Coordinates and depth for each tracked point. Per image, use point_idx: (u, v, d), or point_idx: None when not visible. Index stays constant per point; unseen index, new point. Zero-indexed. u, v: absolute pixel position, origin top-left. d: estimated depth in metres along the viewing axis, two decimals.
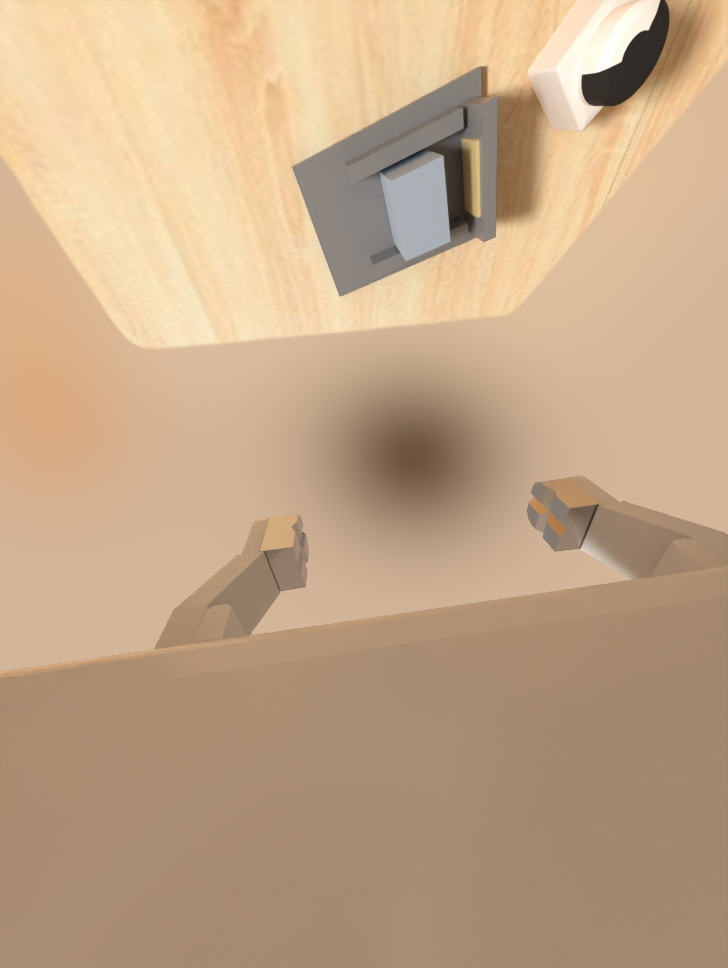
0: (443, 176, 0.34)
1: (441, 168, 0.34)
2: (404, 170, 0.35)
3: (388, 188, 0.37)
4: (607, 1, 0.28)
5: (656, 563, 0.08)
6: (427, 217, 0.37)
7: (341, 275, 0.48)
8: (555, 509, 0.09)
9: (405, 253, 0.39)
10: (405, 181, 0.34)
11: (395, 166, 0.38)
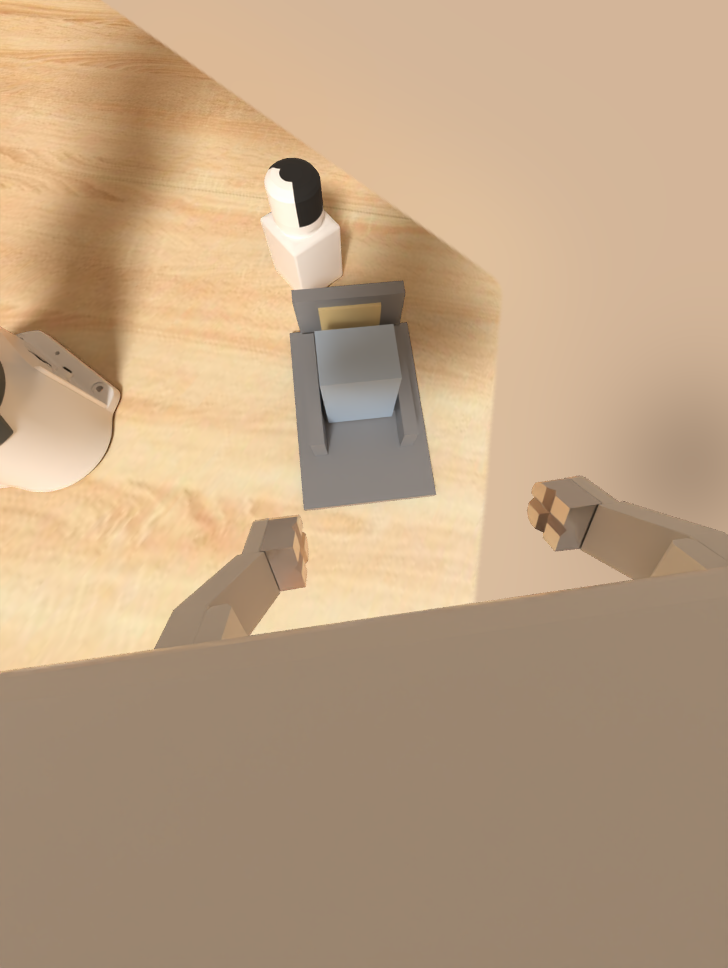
0: (330, 331, 0.30)
1: (323, 333, 0.30)
2: None
3: (332, 400, 0.32)
4: (270, 228, 0.36)
5: (656, 564, 0.08)
6: (362, 349, 0.30)
7: (411, 485, 0.37)
8: (555, 509, 0.09)
9: (393, 377, 0.29)
10: (324, 370, 0.29)
11: None
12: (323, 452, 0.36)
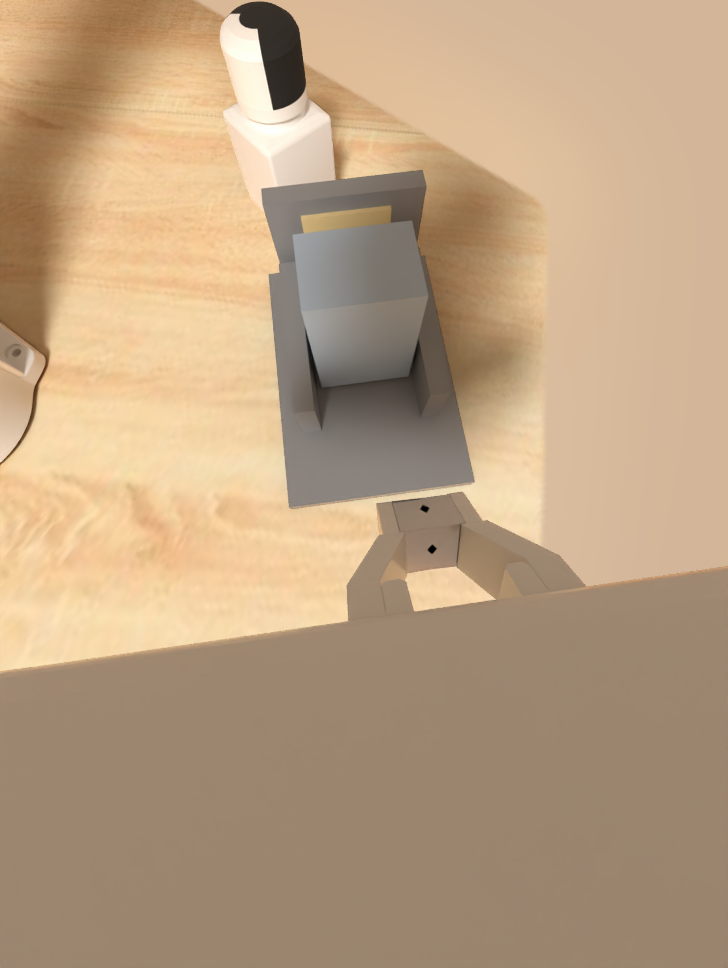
0: (317, 233, 0.20)
1: (306, 236, 0.20)
2: None
3: (324, 343, 0.22)
4: (235, 123, 0.26)
5: None
6: (365, 256, 0.19)
7: (440, 470, 0.26)
8: None
9: (414, 295, 0.19)
10: (307, 289, 0.19)
11: None
12: (314, 426, 0.26)
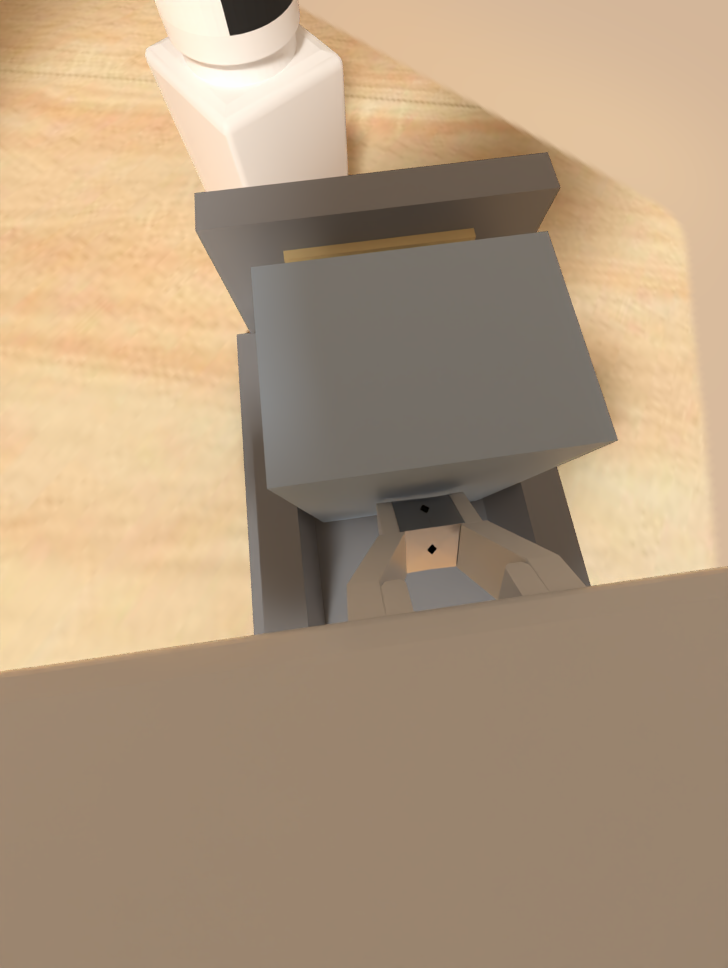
0: (313, 264, 0.08)
1: (286, 272, 0.08)
2: None
3: (329, 503, 0.10)
4: (166, 70, 0.14)
5: None
6: (438, 326, 0.07)
7: None
8: None
9: (580, 439, 0.07)
10: (286, 419, 0.07)
11: None
12: None
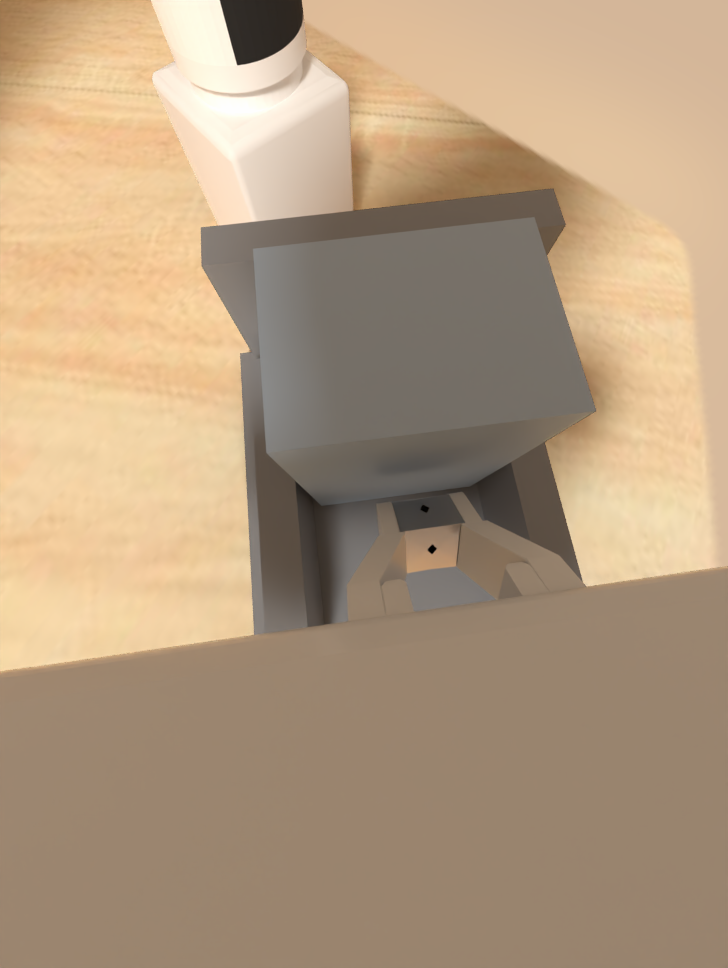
0: (312, 246, 0.08)
1: (287, 254, 0.08)
2: None
3: (326, 478, 0.10)
4: (173, 95, 0.14)
5: None
6: (429, 305, 0.08)
7: None
8: None
9: (560, 410, 0.07)
10: (285, 389, 0.07)
11: None
12: None
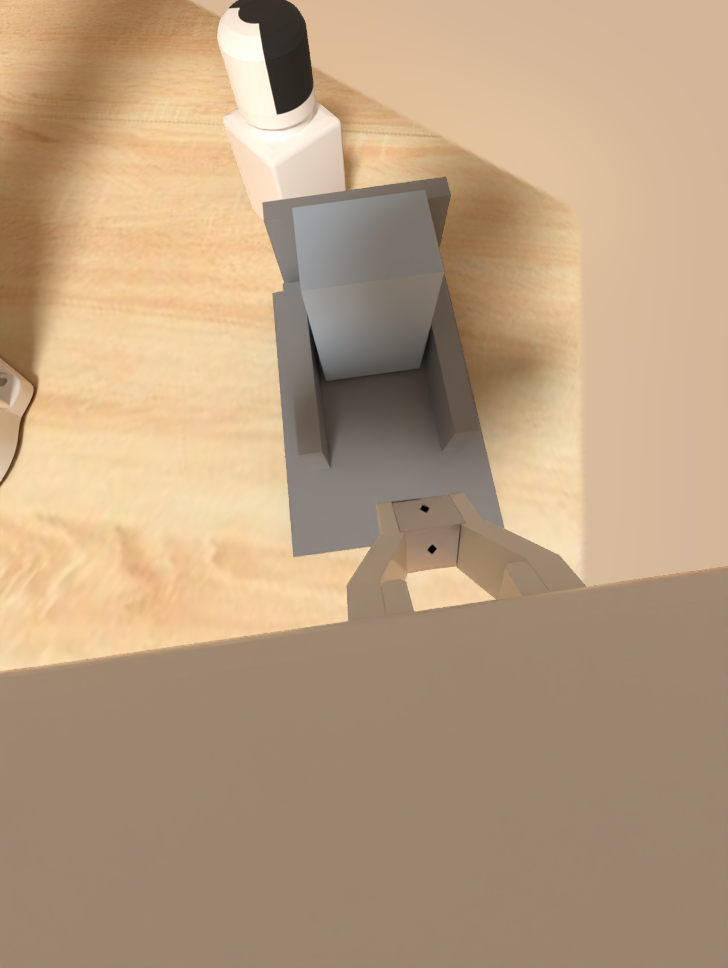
0: (319, 206, 0.18)
1: (308, 209, 0.18)
2: None
3: (327, 329, 0.20)
4: (236, 130, 0.24)
5: None
6: (373, 230, 0.17)
7: None
8: None
9: (428, 271, 0.17)
10: (308, 266, 0.17)
11: None
12: (322, 465, 0.23)
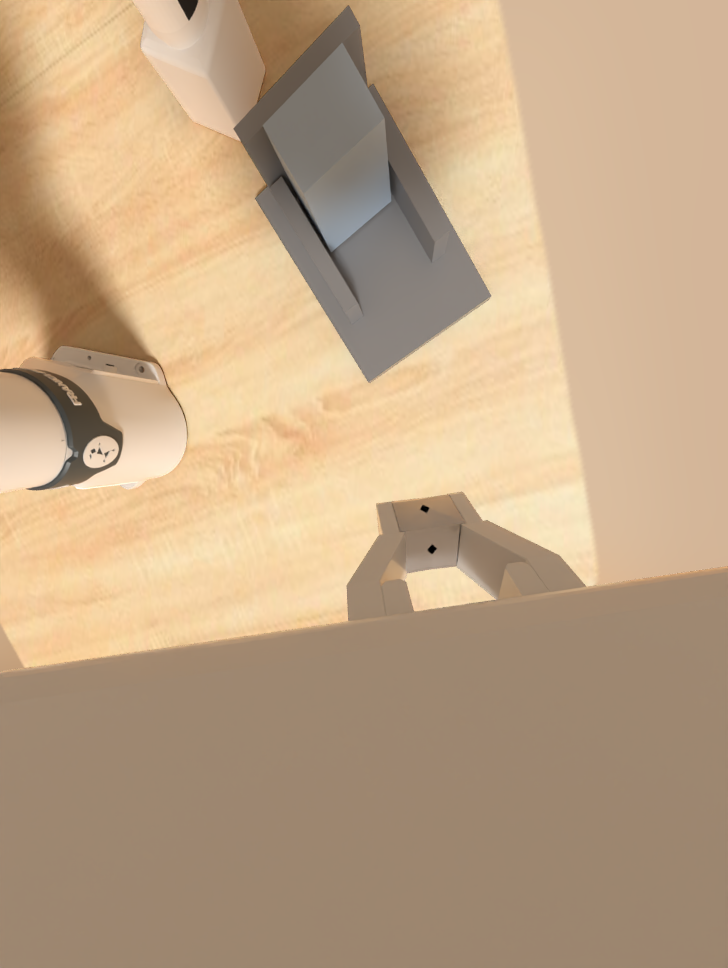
0: (279, 111, 0.24)
1: (273, 120, 0.24)
2: (298, 189, 0.27)
3: (323, 210, 0.28)
4: (159, 54, 0.27)
5: None
6: (323, 110, 0.24)
7: (461, 300, 0.33)
8: None
9: (374, 124, 0.23)
10: (298, 170, 0.25)
11: (315, 224, 0.31)
12: (358, 315, 0.34)
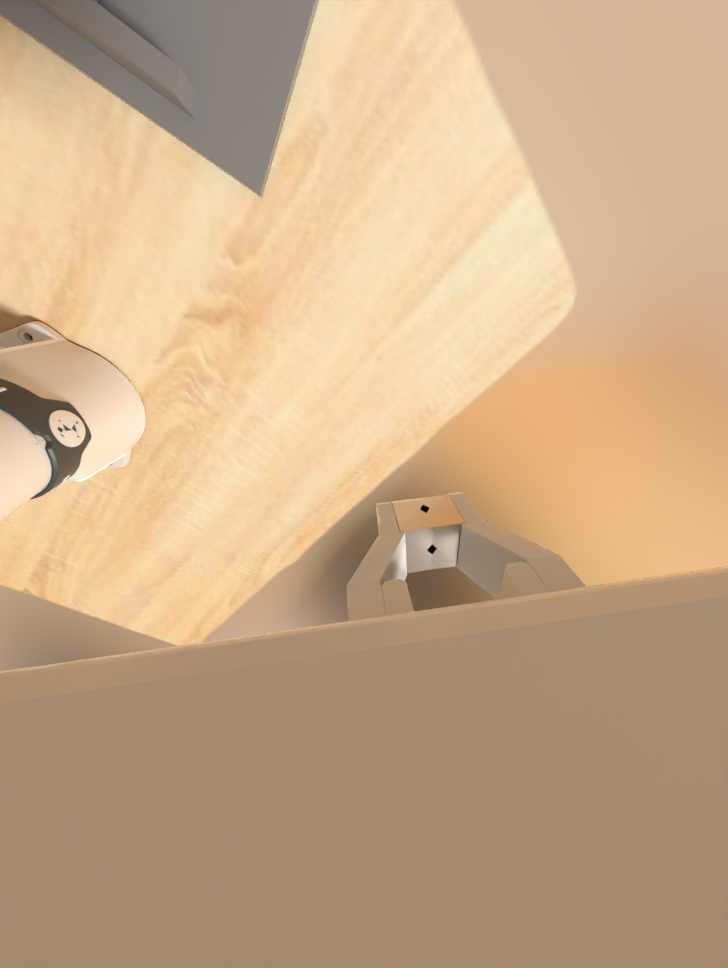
0: None
1: None
2: None
3: None
4: None
5: None
6: None
7: None
8: None
9: None
10: None
11: None
12: (193, 96, 0.25)
